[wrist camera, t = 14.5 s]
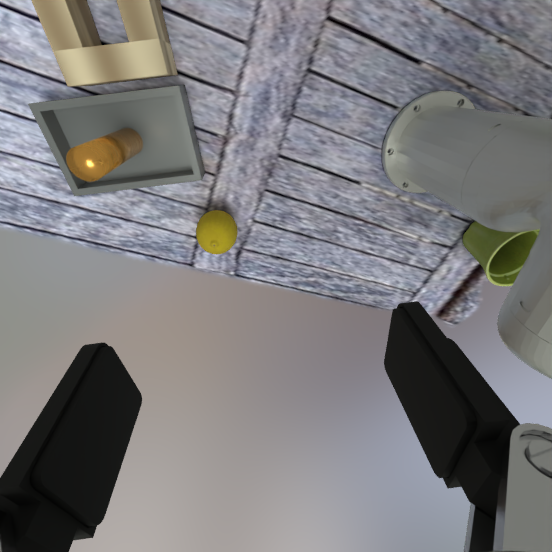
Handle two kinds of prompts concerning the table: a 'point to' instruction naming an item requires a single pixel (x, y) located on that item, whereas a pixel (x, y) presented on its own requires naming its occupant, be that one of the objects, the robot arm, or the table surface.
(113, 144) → the pin
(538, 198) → the robot arm
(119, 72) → the pin block
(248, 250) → the table surface
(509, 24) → the table surface
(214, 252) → the lemon
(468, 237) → the plant pot
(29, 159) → the table surface
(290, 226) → the table surface
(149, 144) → the tray
